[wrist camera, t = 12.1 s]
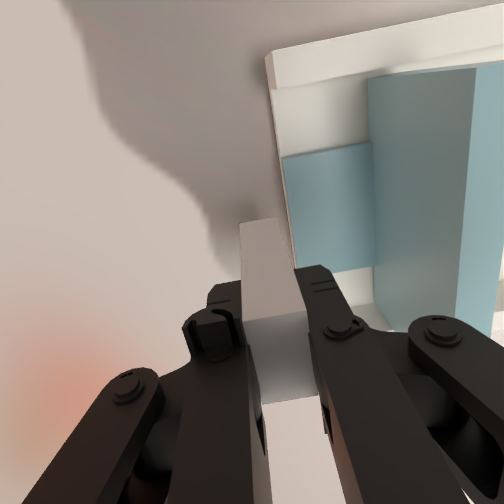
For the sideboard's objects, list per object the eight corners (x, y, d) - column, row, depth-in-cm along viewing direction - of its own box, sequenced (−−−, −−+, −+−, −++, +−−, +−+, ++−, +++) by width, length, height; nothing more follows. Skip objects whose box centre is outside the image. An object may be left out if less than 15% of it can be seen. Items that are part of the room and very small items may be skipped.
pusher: (272, 97, 14) (303, 102, 8) (394, 72, 14) (531, 56, 8) (303, 312, 19) (338, 427, 12) (395, 296, 19) (480, 404, 12)
